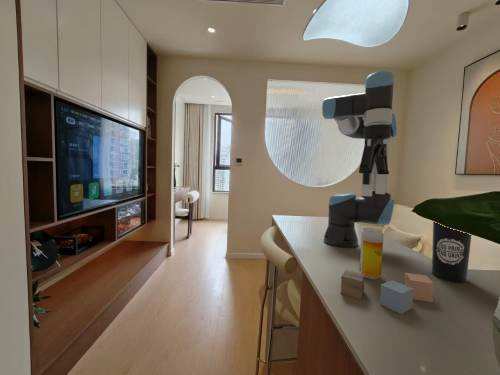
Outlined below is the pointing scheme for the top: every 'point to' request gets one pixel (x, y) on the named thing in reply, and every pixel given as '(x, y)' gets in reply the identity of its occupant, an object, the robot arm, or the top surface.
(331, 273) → the top surface
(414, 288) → the terracotta cube
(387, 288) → the slate blue cube
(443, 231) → the water bottle
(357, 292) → the walnut cube
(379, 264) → the beer can
